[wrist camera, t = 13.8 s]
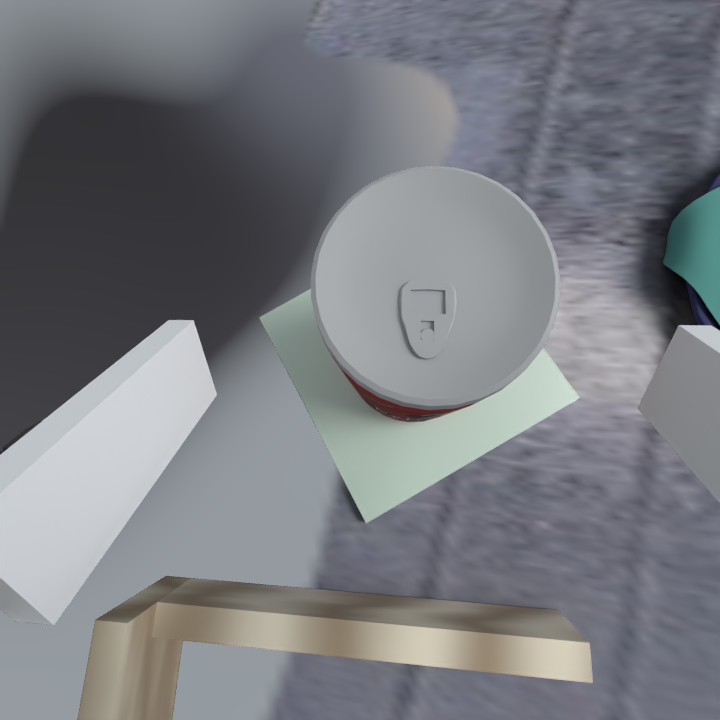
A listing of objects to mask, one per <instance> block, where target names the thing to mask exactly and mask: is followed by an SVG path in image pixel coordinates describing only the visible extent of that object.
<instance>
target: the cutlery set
mask: <svg viewBox="0 0 720 720" xmlns="http://www.w3.org/2000/svg"><path fill="white" fill-rule="evenodd" d="M663 263H664V265H665V266H667V267H668V268H670V269H672V270H673V271H675V272H676V273H677V274H679V275H680V276H682V277H683V278H684V279H685V280H686V284H687V289H688V293H689V298H690V303H691V307H692V312H693V317H694V318H695V320H696V322H697V324H698V325H708V326H713V327H715V328H716V329H718V330H720V174H718V175H717V176H716V177H715V178H714V179H713V181H712V183H711V184H710V186H709V188H708V189H707V191H706V193H705V194H704V195H703V196H701V197H700V198H698V199H696V200H695V201H694V202H692V203H691V204H689V205H688V206H687V207H685V208H684V209H683V210H682V211H681V212H680V213H679V214H678V216H677V217H676V218H675V219H674V220H673V221H672V224H671V227H670V229H669V232H668V238H667V247H666V252H665V257H664V260H663Z"/></svg>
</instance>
